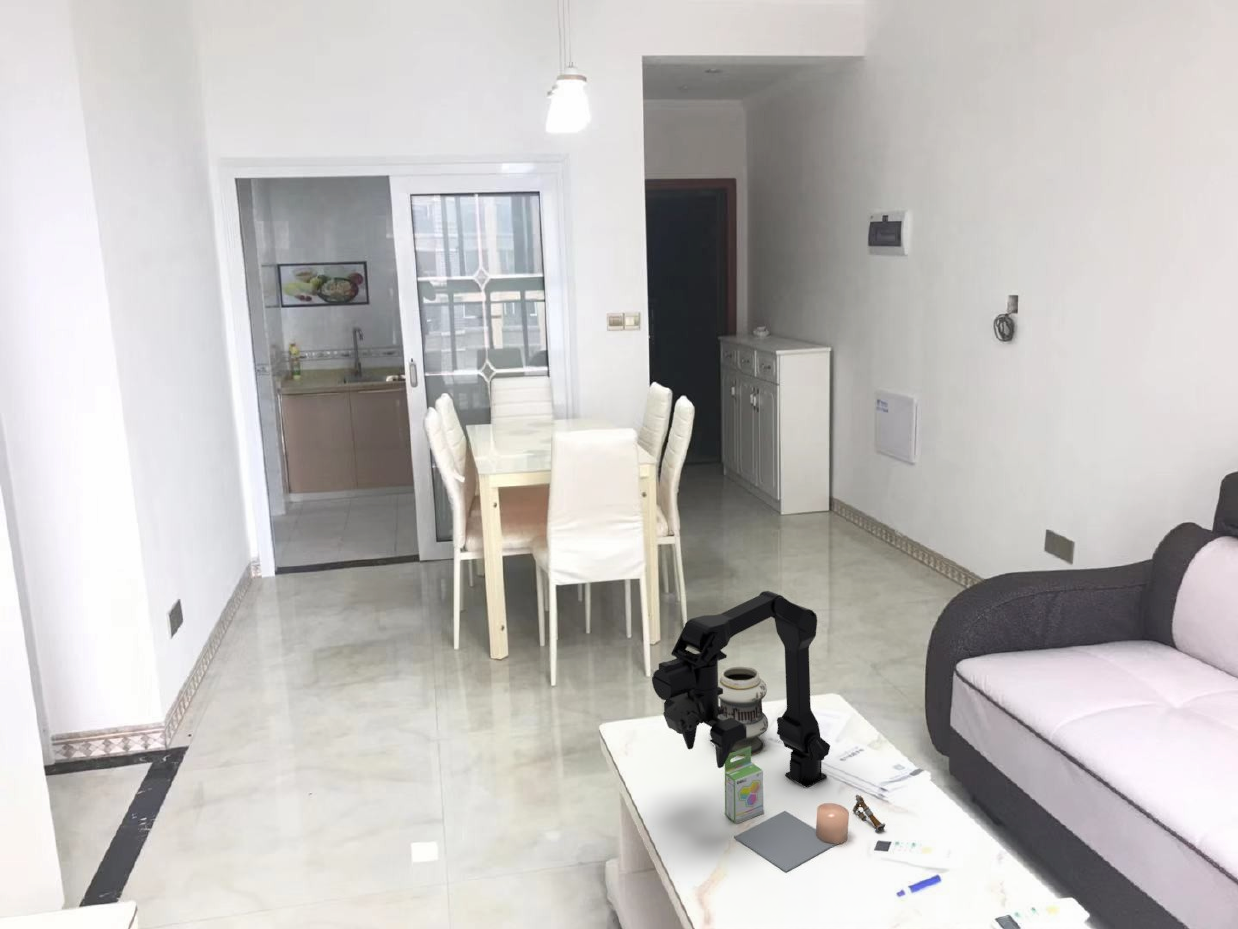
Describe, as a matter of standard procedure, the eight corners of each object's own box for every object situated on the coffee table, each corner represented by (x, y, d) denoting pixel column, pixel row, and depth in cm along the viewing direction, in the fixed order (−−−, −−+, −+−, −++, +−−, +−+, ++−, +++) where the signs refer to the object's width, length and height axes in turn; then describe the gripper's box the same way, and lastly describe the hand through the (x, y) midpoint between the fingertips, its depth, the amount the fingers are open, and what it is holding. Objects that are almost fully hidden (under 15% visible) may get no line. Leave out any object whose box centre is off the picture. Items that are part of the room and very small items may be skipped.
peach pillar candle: (830, 823, 192) (831, 800, 191) (853, 837, 188) (855, 813, 187) (809, 832, 189) (810, 809, 188) (832, 847, 184) (834, 822, 183)
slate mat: (785, 812, 197) (785, 810, 197) (838, 844, 186) (838, 842, 186) (733, 838, 189) (733, 836, 189) (786, 872, 178) (786, 871, 178)
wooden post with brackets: (854, 805, 197) (860, 791, 194) (879, 838, 191) (886, 824, 189) (847, 808, 196) (853, 793, 194) (871, 841, 190) (878, 826, 188)
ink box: (736, 825, 193) (735, 763, 190) (724, 815, 196) (723, 755, 194) (764, 814, 196) (763, 753, 194) (752, 805, 200) (751, 745, 197)
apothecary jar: (710, 735, 229) (709, 664, 225) (760, 730, 230) (760, 659, 227) (721, 761, 217) (720, 686, 214) (774, 756, 219) (774, 681, 215)
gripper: (640, 679, 190) (643, 752, 194) (701, 713, 175) (703, 792, 178) (685, 664, 196) (687, 735, 200) (748, 696, 181) (749, 772, 185)
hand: (705, 758), depth 190 cm, fingers open, 9 cm apart
